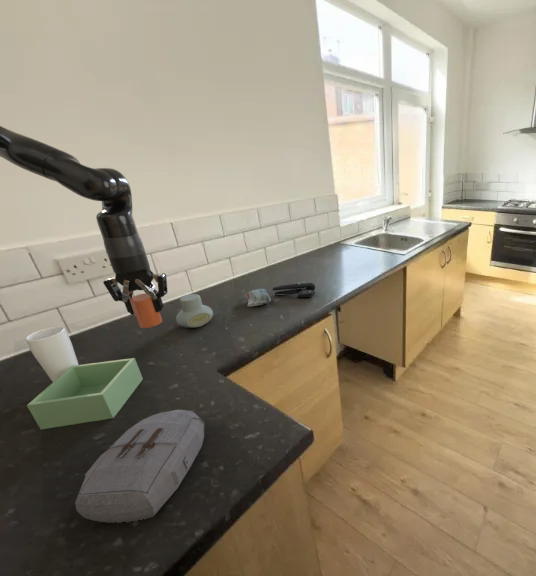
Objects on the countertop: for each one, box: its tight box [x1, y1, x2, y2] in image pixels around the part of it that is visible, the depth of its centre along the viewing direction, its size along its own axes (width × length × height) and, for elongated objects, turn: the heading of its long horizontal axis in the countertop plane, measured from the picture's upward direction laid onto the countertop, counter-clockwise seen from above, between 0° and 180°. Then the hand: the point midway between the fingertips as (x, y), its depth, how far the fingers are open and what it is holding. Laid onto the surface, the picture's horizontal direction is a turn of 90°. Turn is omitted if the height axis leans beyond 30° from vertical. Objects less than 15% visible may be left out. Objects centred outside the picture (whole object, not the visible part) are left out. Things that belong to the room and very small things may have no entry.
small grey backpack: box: [74, 409, 206, 524], centre depth 56 cm, size 15×8×20 cm
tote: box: [26, 357, 144, 430], centre depth 73 cm, size 14×14×7 cm
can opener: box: [272, 281, 316, 298], centre depth 128 cm, size 18×7×6 cm, turn 84°
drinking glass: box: [25, 325, 80, 383], centre depth 78 cm, size 7×7×15 cm
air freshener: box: [175, 293, 214, 329], centre depth 107 cm, size 11×8×10 cm
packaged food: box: [243, 288, 272, 308], centre depth 123 cm, size 9×12×5 cm
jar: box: [129, 292, 163, 329], centre depth 86 cm, size 6×6×8 cm
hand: (146, 311), depth 87 cm, fingers closed on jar, 5 cm apart
